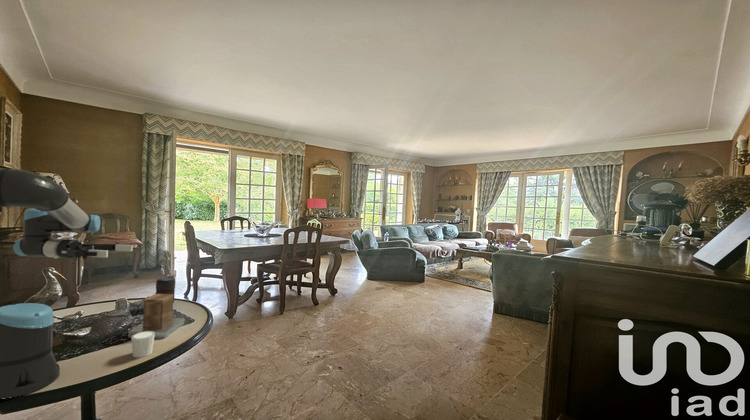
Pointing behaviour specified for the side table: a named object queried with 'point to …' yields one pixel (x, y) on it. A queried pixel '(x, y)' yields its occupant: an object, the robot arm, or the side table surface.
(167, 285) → the camera lens
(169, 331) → the joystick
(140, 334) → the pale grey tapered cylinder
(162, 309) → the wooden brick
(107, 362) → the side table surface
